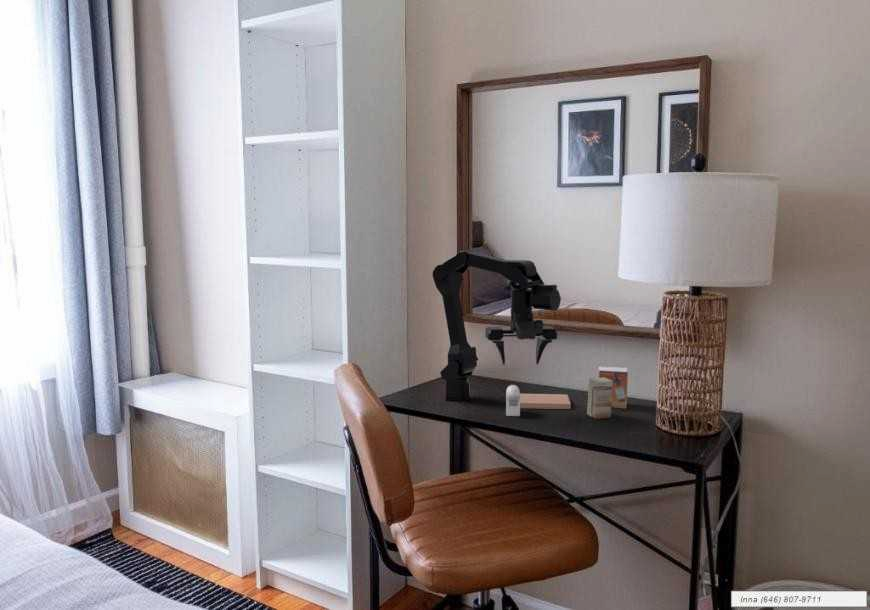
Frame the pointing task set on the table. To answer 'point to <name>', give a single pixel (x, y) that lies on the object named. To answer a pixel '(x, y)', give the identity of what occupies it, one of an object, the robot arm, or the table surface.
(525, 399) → the terracotta tile
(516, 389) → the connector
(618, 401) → the small box
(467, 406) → the table surface
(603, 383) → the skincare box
